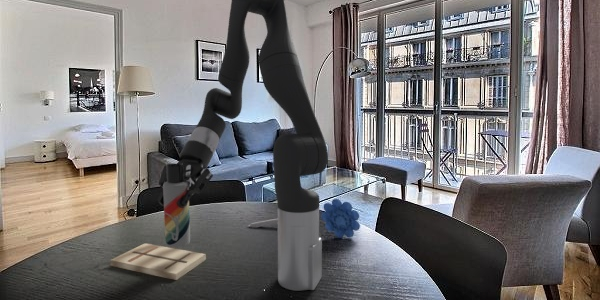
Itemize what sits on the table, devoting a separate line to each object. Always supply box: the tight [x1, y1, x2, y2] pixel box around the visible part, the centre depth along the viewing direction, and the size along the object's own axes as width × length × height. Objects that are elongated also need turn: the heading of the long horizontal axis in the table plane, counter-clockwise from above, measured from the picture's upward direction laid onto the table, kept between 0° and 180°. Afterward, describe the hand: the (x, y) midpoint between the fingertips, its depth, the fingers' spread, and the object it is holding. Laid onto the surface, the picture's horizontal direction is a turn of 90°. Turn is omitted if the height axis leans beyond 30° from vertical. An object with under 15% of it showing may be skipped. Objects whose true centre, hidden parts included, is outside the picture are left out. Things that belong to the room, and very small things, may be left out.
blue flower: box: [320, 198, 361, 239], centre depth 100 cm, size 12×7×12 cm, turn 83°
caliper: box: [247, 217, 278, 228], centre depth 110 cm, size 20×1×6 cm, turn 89°
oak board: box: [110, 242, 207, 281], centre depth 85 cm, size 20×11×2 cm, turn 70°
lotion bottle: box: [162, 163, 191, 248], centre depth 81 cm, size 6×6×20 cm
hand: (170, 205), depth 80 cm, fingers closed on lotion bottle, 5 cm apart
